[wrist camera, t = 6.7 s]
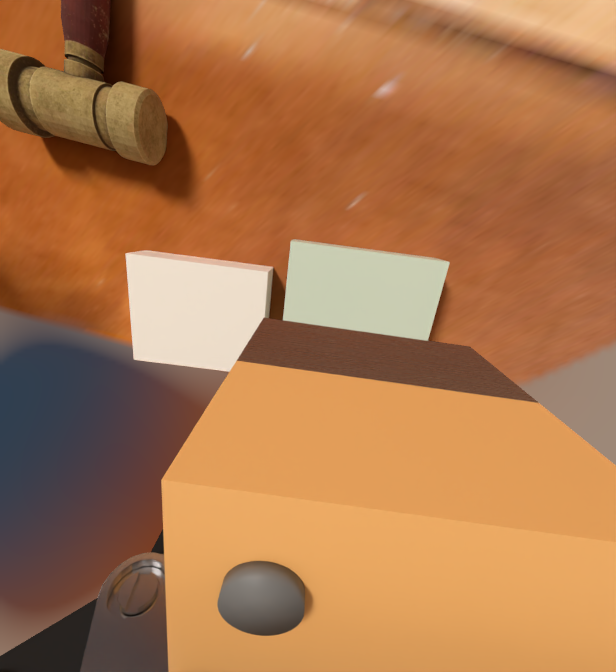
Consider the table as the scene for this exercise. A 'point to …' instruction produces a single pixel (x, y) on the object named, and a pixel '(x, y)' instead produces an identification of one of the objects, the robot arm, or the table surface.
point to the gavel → (82, 92)
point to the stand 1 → (194, 308)
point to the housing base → (377, 358)
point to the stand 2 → (363, 289)
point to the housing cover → (385, 532)
